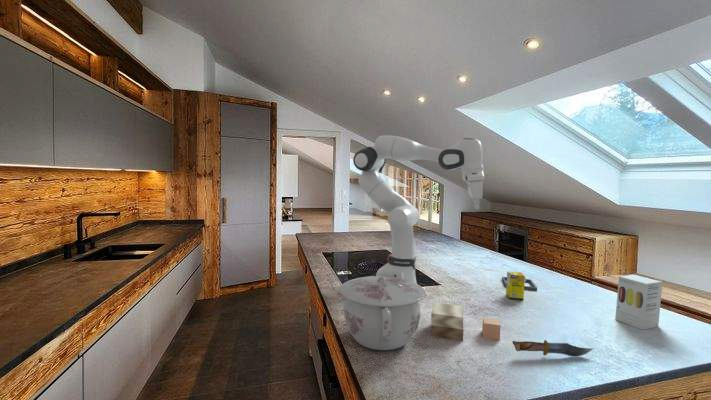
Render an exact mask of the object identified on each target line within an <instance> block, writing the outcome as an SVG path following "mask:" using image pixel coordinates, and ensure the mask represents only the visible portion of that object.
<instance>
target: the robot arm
mask: <svg viewBox="0 0 711 400" xmlns="http://www.w3.org/2000/svg"><path fill="white" fill-rule="evenodd" d="M352 159H353V160H352V162H353V165H354V166H355V168H356V169H357V170H359V171H361V173H360V175H359V177H358V185H360V186H359V187H360V188H361V189H362V190H363V192H364V193H365V194H366V195H367V196H368V197H369V198H370V199H371V200H372V201H373V202H374V204H375V205H376V206H378V208H379V209H381V210H382V211H384V212H385V213H388V215H387V222H388V225H389V226H390V227H389V228H390V233H391V254H389V255H388V256H387V263H385V264H384V265H383V266H381V267H380V268H379V269H378V270H377V272H376V275H375V276H387V277H395V278H401V279H405V280H408V281H412V282H414V283H416V284H418V283H417V282H418V281H417V278H416V277H417V276H416V265H417V260H416V239H415V236H414V228H413V227H414V225H415V224H417V223H418V221H419V219H420V212H419V209H418V208H417V207H416V206H414V205H413V204H412V203H410V202H409V201H408V200H407V199H406V198H404V197H403V196H401V195H400V194H399V193H397V192H396V190H395V189H393V187H392V186H390V185H389V184H388V183H387V182H386V181H385V180H384V179H383V178H382V177H381V175H380V173H382V171H383V169H384V167H385V165H386V163H387V159H390V160H394V161H398V162H399V161H401V162H410V161H418V160H427V161H431V162H437V163H438V164H439V165H438V166H440V168H442V169H444V170H446V171H453V170H460V169H461V177H462V181H464V182H465V184H466V185H467V193H468V195H469V197H470V199H471V206H472V207H474V209H475V210H480V204H481V203H480V201H481V200H482V199H483V195H484V194H483V192H484V191H483V190H484V189H483V186H484V183H483V181H484V179H485V169H484V167H485V166H484V165H483V159H484V155H483V147H482V142H481V141H480V140H479V139H477V138H475V137H473V138H472V137H469V138H468V137H464V138H461V139H460V140H459V141H458V142H456V143H455V144H453V145H452V146H450V147H448V148H438V147H432V146H428V145H425V144H421V143H419V142H416V141H415V140H413V139H409V138H406V137H404V136H403V137H402V136H397V135H387V134H385V135H380V136H378V137H377V138H376V139H375V142H374V145H373V147H372V146H367V147H364V148H362V149H360V150H358V151H357V152H356V153H355V154H354V155H353V158H352Z"/></svg>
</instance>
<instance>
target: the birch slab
mask: <svg viewBox="0 0 711 400" xmlns="http://www.w3.org/2000/svg"><path fill="white" fill-rule="evenodd" d="M430 315H431V317H430V321H431V322H430V325H431V326H432V325H434V326H441V327H448V328H455V329H462V330H463V331H464V308H463V305H458V304H457V305H455V304H450V303H449V304H447V303H439V302H433V303H432V308H431V314H430Z"/></svg>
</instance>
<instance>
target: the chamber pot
mask: <svg viewBox="0 0 711 400" xmlns="http://www.w3.org/2000/svg"><path fill="white" fill-rule="evenodd" d="M339 293H340V295H341V296H343V297H344V298H345V300H344V302H343V315H344V322H345V326H346V328H347V330H348V331H349V333H350V334H351V336H352V338H353V339H354V340H355V341H356V342H357V343H358V344H359V345H360V346H363V347H365V348H367V349H370V350H375V351H394V350H397V349H400V348H402V347H404V346H405V345H407V344H408V342H409V341H410V340H411V338H412V337H413V336H414V334H415V332H416V331H417V330H418V327H419V323H420V319H421V304H420V302H421V301H422V300H423V299H424V298H425V297H426V295H427V294H426V290H425V289H424V287H422V286H421V285H420V284H418V283H417V284H416V283H414V282H412V281H408V280H405V279H401V278H395V277H387V276H376V275H374V276H372V275H370V276H363V277H356V278H354V279H349V280H347V281H345V282H344V283H342V284H341V286H340V287H339Z"/></svg>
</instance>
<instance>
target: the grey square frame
mask: <svg viewBox="0 0 711 400" xmlns="http://www.w3.org/2000/svg"><path fill="white" fill-rule="evenodd" d="M501 281H502V283H503V285H504V286H505V287H504V288H506V287H507V276H502V277H501ZM525 283H529V284H530V285H531V286H529V285H528V286H524V291H525V290H526V291H538V287H537V285H536V284H535V283H534V281H533V280H532V279H531V278H526V281H525Z"/></svg>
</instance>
